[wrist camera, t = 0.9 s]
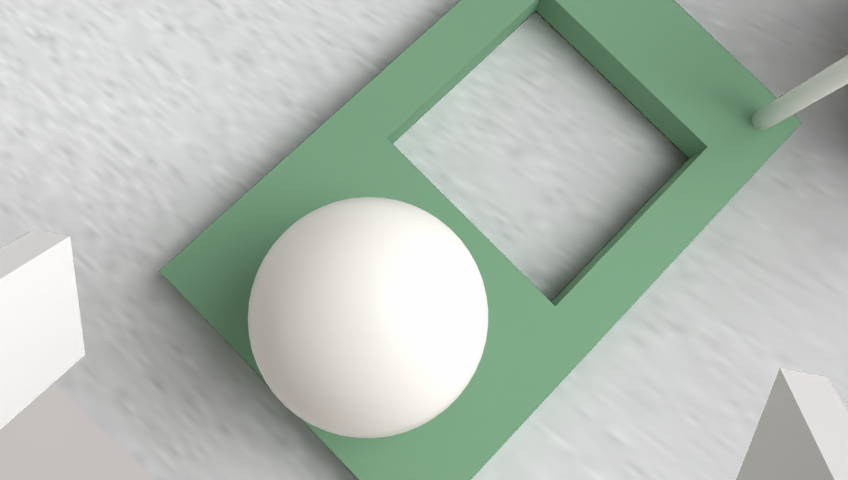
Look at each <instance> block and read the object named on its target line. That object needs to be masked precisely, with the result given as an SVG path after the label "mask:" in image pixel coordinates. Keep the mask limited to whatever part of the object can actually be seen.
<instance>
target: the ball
mask: <svg viewBox="0 0 848 480" xmlns="http://www.w3.org/2000/svg"><path fill="white" fill-rule="evenodd" d="M487 330H488V304H487V296H486V291H485V287H484V283H483V280H482V277H481V274H480V272H479V269H478V267H477V264H476V263H475V261H474V259H473V257H472V255H471V254H470V252H469V250H468V249H467V248H466V246H465V245H464V244H463V242H462V241H461V240H460V238H459V237H458V236H457V235H456V234H455V233H454V232H453V231H452V230H451V229H450V228H449V227H448V226H446V225H445V224H444V223H443V222H441V221H440V220H439V219H438V218H436V217H434V216H433V215H431V214H430V213H428V212H426V211H424V210H422V209H420V208H418V207H416V206H413V205H411V204H408V203H405V202H401V201H398V200H393V199H387V198H380V197H360V198H350V199H345V200H341V201H336V202H333V203H331V204H328V205H325V206H322V207H320V208H318V209H316V210H314V211H312V212H310V213H308V214H307V215H305V216H304V217H302V218H301V219H299V220H298V221H296V222H295V223H294V224H293V225H292V226H290V227H289V228H288V229H287V230H286V231H285V232H284V233H283V234H282V235H281V236H280V237H279V238H278V240H277V241H276V242H275V243H274V244H273V246H272V247H271V248H270V250H269V251H268V253H267V254H266V256H265V257H264V259H263V261H262V263H261V265H260V267H259V269H258V271H257V274H256V277H255V280H254V283H253V286H252V289H251V294H250V299H249V307H248V331H249V338H250V343H251V348H252V352H253V355H254V358H255V361H256V364H257V366H258V368H259V370H260V372H261V374H262V376H263V378H264V380H265V382H266V383H267V385H268V386H269V387H270V389H271V390H272V392H273V393H274V394H275V395H276V397H277V398H278V399H279V400H280V401H281V402H282V403H283V404H284V405H285V406H286V407H287V408H288V409H289V410H291V411H292V412H293V413H294V414H296V415H297V416H298V417H300V418H301V419H303V420H305V421H306V422H308V423H309V424H311V425H313V426H316V427H318V428H320V429H322V430H324V431H327V432H331V433H334V434H337V435H341V436H347V437H354V438H380V437H388V436H393V435H397V434H400V433H404V432H407V431H409V430H412V429H414V428H417V427H419V426H421V425H423V424H425V423H426V422H428V421H430V420H432V419H433V418H435V417H436V416H438V415H439V414H440V413H441V412H443V411H444V410H445V409H447V408H448V407H449V406H450V405H451V404H452V403H453V402H454V401H455V400H456V399H457V398H458V397H459V395H460V394H461V393H462V391H463V390H464V389H465V388H466V386H467V385H468V383H469V382H470V380H471V378H472V376H473V375H474V373H475V371H476V369H477V367H478V364H479V362H480V360H481V357H482V354H483V350H484V347H485V343H486V337H487Z"/></svg>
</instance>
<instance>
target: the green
mask: <svg viewBox="0 0 848 480" xmlns="http://www.w3.org/2000/svg"><path fill="white" fill-rule="evenodd" d="M535 11H537V12H538V13H539V14H540V15H541V16H542V17H543V18H544V19H545V20H546V21H547V22H548V23H549V24H550V25H551V26H552V27H553V28H554V29H555V30H556V31H557V32H558V33H559V34H560V35H561V36H562V37H564V38H565V39H566V40H567V41H568V42H569V43H570V44H571V45H572V46H573V47H574V48H575V49H576V50H577V51H578V52H579V53H580V54H581V55H582V56H583V57H584V58H585V59H586V60H587V61H588V62H589V63H590V64H591V65H593V66H594V67H595V68H596V69H597V70H598V71H599V72H600V73H601V74H602V75H603V76H604V77H605V78H606V79H607V80H608V81H609V82H610V83H611V84H612V85H613V86H614V87H615V88H616V89H617V90H618V91H619V92H620V93H621V94H623V95H624V96H625V97H626V98H627V99H628V100H629V101H630V102H631V103H632V104H633V105H634V106H635V107H636V108H637V109H638V110H639V111H640V112H641V113H642V114H643V115H644V116H645V117H646V118H647V119H648V120H649V121H650V122H651V123H653V124H654V125H655V126H656V127H657V128H658V129H659V130H660V131H661V132H662V133H663V134H664V135H665V136H666V137H667V138H668V139H669V140H670V141H671V142H672V143H673V144H674V145H675V146H676V147H677V148H678V149H679V150H680V151H682V152H683V153H684V154H685V155H686V156H687V157H688V158H689V159H688V160H687V161H686V162H685V163H684V164H683V165H682V166H681V167H680V168H679V169H678V170H677V171H676V172H675V173H674V174H673V175H672V176H671V177H670V178H669V180H668V181H667V182H666V183H665V184H664V185H663V186H662V187H661V188H660V189H659V190H658V191H657V192H656V193H655V194H654V195H653V196H652V197H651V198H650V199H649V200H648V201H647V203H646V204H645V205H644V206H643V207H642V208H641V209H640V210H639V211H638V212H637V213H636V214H635V215H634V216H633V217H632V218H631V219H630V220H629V221H628V222H627V223H626V224H625V225H624V227H623V228H622V229H621V230H620V231H619V232H618V233H617V234H616V235H615V236H614V237H613V238H612V239H611V240H610V241H609V242H608V243H607V244H606V245H605V246H604V247H603V248H602V250H601V251H600V252H599V253H598V254H597V255H596V256H595V257H594V258H593V259H592V260H591V261H590V262H589V263H588V264H587V265H586V266H585V267H584V268H583V269H582V270H581V271H580V273H579V274H578V275H577V276H576V277H575V278H574V279H573V280H572V281H571V282H570V283H569V284H568V285H567V286H566V287H565V288H564V289H563V290H562V291H561V292H560V293H559V294H558V295H557V297H556V298H555V299H554V300H553V301H552V302H550V301H549V300H548V299H547V298H546V297H545V296H544V295H543V294H542V293H541V292H540V291H539V290H538V289H537V288H536V287H535V286H534V285H533V284H532V283H531V282H530V281H529V280H528V279H527V278H526V277H525V276H524V275H523V274H522V273H521V272H520V271H519V270H518V269H517V268H516V267H515V266H514V265H513V264H512V263H511V262H510V261H509V260H508V259H507V258H506V257H505V256H504V255H503V254H502V253H501V252H500V251H499V250H498V249H497V248H496V247H495V246H494V245H493V244H492V243H491V242H490V241H489V240H488V239H487V238H486V237H485V236H484V235H483V234H482V233H481V232H480V231H479V230H478V229H477V228H476V227H475V226H474V225H473V224H472V223H471V222H470V221H469V220H468V219H467V218H466V217H465V216H464V215H463V214H462V213H461V212H460V211H459V210H458V209H457V208H456V207H455V206H454V205H453V204H452V203H451V202H450V201H449V200H448V199H447V198H446V197H445V196H444V195H443V194H442V193H441V192H440V191H439V190H438V189H437V188H436V187H435V186H434V185H433V184H432V183H431V182H430V181H429V180H428V179H427V178H426V177H425V176H424V175H423V174H422V173H421V172H420V171H419V170H418V169H417V168H416V167H415V166H414V165H413V164H412V163H411V162H410V161H409V160H408V159H407V158H406V157H405V156H404V155H403V154H402V153H401V152H400V151H399V150H398V149H397V148H396V147H395V146H394V145H393V143H394V142H395V141H396V140H397V139H398V138H399V137H400V136H401V135H403V134H404V133H405V132H406V131H407V130H408V129H409V128H410V127H411V126H412V125H413V124H414V123H416V122H417V121H418V120H419V119H420V118H421V117H422V116H423V115H424V114H425V113H426V112H427V111H428V110H430V109H431V108H432V107H433V106H434V105H435V104H436V103H437V102H438V101H439V100H440V99H441V98H442V97H444V96H445V95H446V94H447V93H448V92H449V91H450V90H451V89H452V88H453V87H454V86H455V85H456V84H458V83H459V82H460V81H461V80H462V79H463V78H464V77H465V76H466V75H467V74H468V73H469V72H470V71H472V70H473V69H474V68H475V67H476V66H477V65H478V64H479V63H480V62H481V61H482V60H483V59H484V58H486V57H487V56H488V55H489V54H490V53H491V52H492V51H493V50H494V49H495V48H496V47H497V46H498V45H500V44H501V43H502V42H503V41H504V40H505V39H506V38H507V37H508V36H509V35H510V34H511V33H512V32H514V31H515V30H516V29H517V28H518V27H519V26H520V25H521V24H522V23H523V22H524V21H525V20H526V19H528V18H529V17H530V16H531V15H532V14H533V13H534V12H535ZM846 84H848V55H847V56H845V57H843V58H842V59H840V60H839V61H837V62H835V63H834V64H832V65H831V66H829V67H827V68H826V69H824V70H823V71H821V72H819V73H818V74H816V75H814V76H813V77H811V78H810V79H808V80H806V81H805V82H803V83H802V84H800V85H798V86H797V87H795V88H794V89H792V90H790V91H789V92H787V93H786V94H784V95H782V96H781V97H779V98H776V97H775V96H774V95H773V94H772V93H771V92H770V91H769V90H768V89H767V88H766V87H765V86H764V85H763V84H762V83H761V82H760V81H759V80H757V79H756V78H755V77H754V76H753V75H752V74H751V73H750V72H749V71H748V70H747V69H746V68H745V67H744V66H743V65H742V64H741V63H740V62H739V61H737V60H736V59H735V58H734V57H733V56H732V55H731V54H730V53H729V52H728V51H727V50H726V49H725V48H724V47H723V46H722V45H721V44H720V43H719V42H717V41H716V40H715V39H714V38H713V37H712V36H711V35H710V34H709V33H708V32H707V31H706V30H705V29H704V28H703V27H702V26H701V25H700V24H699V23H697V22H696V21H695V20H694V19H693V18H692V17H691V16H690V15H689V14H688V13H687V12H686V11H685V10H684V9H683V8H682V7H681V6H680V5H679V4H677V3H676V2H675V1H674V0H461V1H459V2H458V3H457V4H456V5H455V6H454V7H453V8H452V9H451V10H449V11H448V12H447V13H446V14H445V15H444V16H443V17H442V18H441V19H439V20H438V21H437V22H436V23H435V24H434V25H433V26H432V27H431V28H429V29H428V30H427V31H426V32H425V33H424V34H423V35H422V36H421V37H419V38H418V39H417V40H416V41H415V42H414V43H413V44H412V45H410V46H409V47H408V48H407V49H406V50H405V51H404V52H403V53H402V54H400V55H399V56H398V57H397V58H396V59H395V60H394V61H393V62H392V63H390V64H389V65H388V66H387V67H386V68H385V69H384V70H383V71H382V72H380V73H379V74H378V75H377V76H376V77H375V78H374V79H373V80H372V81H370V82H369V83H368V84H367V85H366V86H365V87H364V88H363V89H362V90H360V91H359V92H358V93H357V94H356V95H355V96H354V97H353V98H352V99H350V100H349V101H348V102H347V103H346V104H345V105H344V106H343V107H341V108H340V109H339V110H338V111H337V112H336V113H335V114H334V115H333V116H331V117H330V118H329V119H328V120H327V121H326V122H325V123H324V124H323V125H321V126H320V127H319V128H318V129H317V130H316V131H315V132H314V133H313V134H311V135H310V136H309V137H308V138H307V139H306V140H305V141H304V142H303V143H301V144H300V145H299V146H298V147H297V148H296V149H295V150H294V151H293V152H291V153H290V154H289V155H288V156H287V157H286V158H285V159H284V160H283V161H281V162H280V163H279V164H278V165H277V166H276V167H275V168H274V169H273V170H271V171H270V172H269V173H268V174H267V175H266V176H265V177H264V178H262V179H261V180H260V181H259V182H258V183H257V184H256V185H255V186H254V187H252V188H251V189H250V190H249V191H248V192H247V193H246V194H245V195H244V196H242V197H241V198H240V199H239V200H238V201H237V202H236V203H235V204H234V205H232V206H231V207H230V208H229V209H228V210H227V211H226V212H225V213H224V214H222V215H221V216H220V217H219V218H218V219H217V220H216V221H215V222H214V223H212V224H211V225H210V226H209V227H208V228H207V229H206V230H205V231H204V232H202V233H201V234H200V235H199V236H198V237H197V238H196V239H195V240H193V241H192V242H191V243H190V244H189V245H188V246H187V247H186V248H185V249H183V250H182V251H181V252H180V253H179V254H178V255H177V256H176V257H175V258H173V259H172V260H171V261H170V262H169V263H168V264H167V265H166V266H165V267H163V268H162V269H161V270H160V271H159V272H160V273H161V274H162V275H163V276H164V277H165V278H166V279H167V280H168V281H169V282H170V283H171V284H172V285H173V286H174V287H175V288H176V289H177V290H178V292H179V293H180V294H181V295H182V296H183V297H184V298H185V299H186V300H187V301H188V302H189V303H190V304H191V305H192V306H193V307H194V308H195V309H196V310H197V311H198V312H199V313H200V314H201V316H202V317H203V318H204V319H205V320H206V321H207V322H208V323H209V324H210V325H211V326H212V327H213V328H214V329H215V330H216V331H217V332H218V333H219V334H220V335H221V336H222V337H223V338H224V339H225V341H226V342H227V343H228V344H229V345H230V346H231V347H232V348H233V349H234V350H235V351H236V352H237V353H238V354H239V355H240V356H241V357H242V358H243V359H244V360H245V361H246V362H247V363H248V364H249V366H250V367H251V368H252V369H253V370H254V371H255V372H256V373H257V374H258V375H259V376H260V377H261V378H262V379H263V380H264V378H263V376H262V374H261V372H260V370H259V368H258V366H257V364H256V361H255V358H254V355H253V352H252V348H251V343H250V338H249V331H248V307H249V299H250V294H251V289H252V286H253V283H254V280H255V277H256V274H257V271H258V269H259V267H260V265H261V263H262V261H263V259H264V257H265V256H266V254H267V253H268V251H269V250H270V248H271V247H272V246H273V244H274V243H275V242H276V241H277V240H278V238H279V237H280V236H281V235H282V234H283V233H284V232H285V231H286V230H287V229H288V228H289V227H290V226H292V225H293V224H294V223H295V222H296V221H298V220H299V219H301V218H302V217H304V216H305V215H307V214H308V213H310V212H312V211H314V210H316V209H318V208H320V207H322V206H325V205H328V204H331V203H333V202H336V201H341V200H345V199H350V198H360V197H380V198H387V199H393V200H398V201H401V202H405V203H408V204H411V205H413V206H416V207H418V208H420V209H422V210H424V211H426V212H428V213H430V214H431V215H433V216H434V217H436V218H438V219H439V220H440V221H441V222H443V223H444V224H445V225H446V226H448V227H449V228H450V229H451V230H452V231H453V232H454V233H455V234H456V235H457V236H458V237H459V238H460V240H461V241H462V242H463V244H464V245H465V246H466V248H467V249H468V250H469V252H470V254H471V255H472V257H473V259H474V261H475V263H476V264H477V267H478V269H479V272H480V274H481V277H482V280H483V283H484V287H485V291H486V296H487V304H488V330H487V337H486V343H485V347H484V350H483V354H482V357H481V360H480V362H479V364H478V367H477V369H476V371H475V373H474V375H473V376H472V378H471V380H470V382H469V383H468V385H467V386H466V388H465V389H464V390H463V391H462V393H461V394H460V395H459V397H458V398H457V399H456V400H455V401H454V402H453V403H452V404H451V405H450V406H449V407H448V408H447V409H445V410H444V411H443V412H441V413H440V414H439V415H438V416H436V417H435V418H433V419H432V420H430V421H428V422H426V423H425V424H423V425H421V426H419V427H417V428H414V429H412V430H409V431H407V432H404V433H400V434H397V435H393V436H388V437H380V438H354V437H347V436H341V435H337V434H334V433H331V432H327V431H324V430H322V429H320V428H318V427H316V426H313V425H311V424H309V423H308V422H306V421H305V420H303V419H301V418H300V417H299V418H300V419H301V420H302V421H303V422H304V423H305V424H306V425H307V426H308V427H309V428H310V429H311V430H312V431H313V432H314V433H315V434H316V435H317V436H318V437H319V438H320V440H321V441H322V442H323V443H324V444H325V445H326V446H327V447H328V448H329V449H330V450H331V451H332V452H333V453H334V454H335V455H336V456H337V457H338V458H339V459H340V460H341V461H342V462H343V463H344V465H345V466H346V467H347V468H348V469H349V470H350V471H351V472H352V473H353V474H354V475H355V476H356V477H357V478H358V479H359V480H471V479H472V478H473V477H474V476H475V475H476V473H477V472H478V471H479V470H480V469H481V468H482V467H483V466H484V465H485V464H486V463H487V462H488V460H489V459H490V458H491V457H492V456H493V455H494V454H495V453H496V452H497V451H498V450H499V449H500V448H501V446H502V445H503V444H504V443H505V442H506V441H507V440H508V439H509V438H510V437H511V436H512V435H513V433H514V432H515V431H516V430H517V429H518V428H519V427H520V426H521V425H522V424H523V423H524V422H525V421H526V419H527V418H528V417H529V416H530V415H531V414H532V413H533V412H534V411H535V410H536V409H537V408H538V407H539V405H540V404H541V403H542V402H543V401H544V400H545V399H546V398H547V397H548V396H549V395H550V394H551V392H552V391H553V390H554V389H555V388H556V387H557V386H558V385H559V384H560V383H561V382H562V381H563V380H564V378H565V377H566V376H567V375H568V374H569V373H570V372H571V371H572V370H573V369H574V368H575V367H576V365H577V364H578V363H579V362H580V361H581V360H582V359H583V358H584V357H585V356H586V355H587V354H588V353H589V351H590V350H591V349H592V348H593V347H594V346H595V345H596V344H597V343H598V342H599V341H600V340H601V338H602V337H603V336H604V335H605V334H606V333H607V332H608V331H609V330H610V329H611V328H612V327H613V326H614V324H615V323H616V322H617V321H618V320H619V319H620V318H621V317H622V316H623V315H624V314H625V313H626V312H627V310H628V309H629V308H630V307H631V306H632V305H633V304H634V303H635V302H636V301H637V300H638V299H639V297H640V296H641V295H642V294H643V293H644V292H645V291H646V290H647V289H648V288H649V287H650V286H651V285H652V283H653V282H654V281H655V280H656V279H657V278H658V277H659V276H660V275H661V274H662V273H663V272H664V270H665V269H666V268H667V267H668V266H669V265H670V264H671V263H672V262H673V261H674V260H675V259H676V258H677V256H678V255H679V254H680V253H681V252H682V251H683V250H684V249H685V248H686V247H687V246H688V245H689V244H690V242H691V241H692V240H693V239H694V238H695V237H696V236H697V235H698V234H699V233H700V232H701V231H702V229H703V228H704V227H705V226H706V225H707V224H708V223H709V222H710V221H711V220H712V219H713V218H714V217H715V215H716V214H717V213H718V212H719V211H720V210H721V209H722V208H723V207H724V206H725V205H726V204H727V202H728V201H729V200H730V199H731V198H732V197H733V196H734V195H735V194H736V193H737V192H738V191H739V190H740V188H741V187H742V186H743V185H744V184H745V183H746V182H747V181H748V180H749V179H750V178H751V177H752V176H753V174H754V173H755V172H756V171H757V170H758V169H759V168H760V167H761V166H762V165H763V164H764V163H765V161H766V160H767V159H768V158H769V157H770V156H771V155H772V154H773V153H774V152H775V151H776V150H777V149H778V147H779V146H780V145H781V144H782V143H783V142H784V141H785V140H786V139H787V138H788V137H789V136H790V134H791V133H792V132H793V131H794V130H795V129H796V128H797V127H798V126H799V125H800V124H801V123H802V121H801V120H800V119H799V118H797V117H796V116H795V115H794V114H795V113H797V112H798V111H800V110H802V109H804V108H805V107H807V106H809V105H811V104H813V103H814V102H816V101H818V100H820V99H821V98H823V97H825V96H827V95H829V94H830V93H832V92H834V91H836V90H837V89H839V88H841V87H843V86H845V85H846ZM264 381H265V380H264Z"/></svg>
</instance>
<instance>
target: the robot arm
mask: <svg viewBox="0 0 848 480" xmlns="http://www.w3.org/2000/svg"><path fill="white" fill-rule="evenodd" d="M84 355H85V348H84V340H83V333H82V325H81V317H80V309H79V301H78V294H77V286H76V278H75V270H74V263H73V255H72V247H71V239H70V236H67V235H62V234H56V233H51V232H45V231H40V230H35V229H34V230H32V231H30V232H29V233H27V234H25V235H23V236H21V237H20V238H18V239H16V240H14V241H12V242H11V243H9V244H7V245H5V246H4V247H2V248H0V429H1V428H3V427H4V426H5V425H6V424H7V423H8V422H9V421H11V420H12V419H13V418H14V417H15V416H16V415H17V414H19V413H20V412H21V411H22V410H23V409H24V408H25V407H26V406H28V405H29V404H30V403H31V402H32V401H33V400H34V399H36V398H37V397H38V396H39V395H40V394H41V393H42V392H44V391H45V390H46V389H47V388H48V387H49V386H50V385H52V384H53V383H54V382H55V381H56V380H57V379H58V378H59V377H61V376H62V375H63V374H64V373H65V372H66V371H67V370H69V369H70V368H71V367H72V366H73V365H74V364H75V363H76V362H78V361H79V360H80V359H81V358H82V357H83V356H84ZM736 480H848V411H847V409H846V407H845V406H844V404H843V402H842V401H841V399H840V397H839V395H838V394H837V392H836V390H835V389H834V387H833V385H832V383H831V382H830V380H829V378H828V377H825V376H820V375H814V374H809V373H803V372H798V371H793V370H787V369H782V368H780V370H779V372H778V375H777V377H776V380H775V382H774V385H773V388H772V390H771V393H770V395H769V398H768V400H767V403H766V405H765V408H764V410H763V413H762V416H761V418H760V421H759V423H758V426H757V428H756V431H755V433H754V436H753V439H752V441H751V444H750V446H749V449H748V451H747V454H746V456H745V459H744V461H743V464H742V467H741V469H740V472H739V474H738V477H737V479H736Z"/></svg>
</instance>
